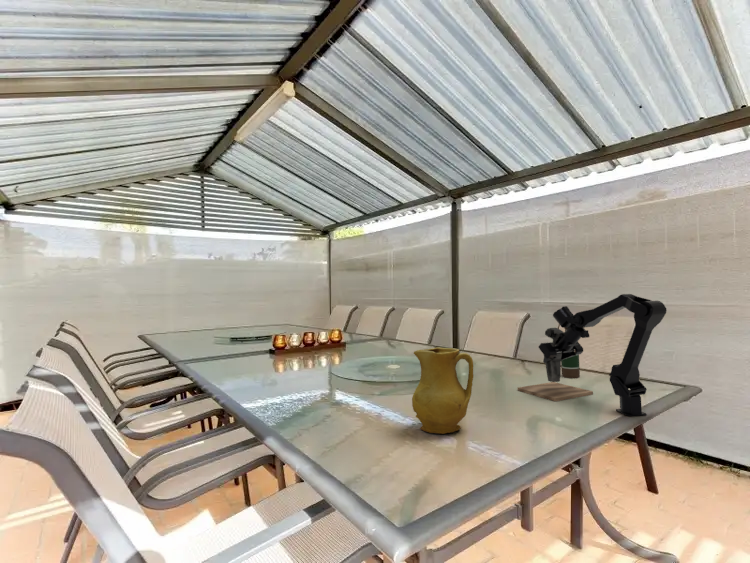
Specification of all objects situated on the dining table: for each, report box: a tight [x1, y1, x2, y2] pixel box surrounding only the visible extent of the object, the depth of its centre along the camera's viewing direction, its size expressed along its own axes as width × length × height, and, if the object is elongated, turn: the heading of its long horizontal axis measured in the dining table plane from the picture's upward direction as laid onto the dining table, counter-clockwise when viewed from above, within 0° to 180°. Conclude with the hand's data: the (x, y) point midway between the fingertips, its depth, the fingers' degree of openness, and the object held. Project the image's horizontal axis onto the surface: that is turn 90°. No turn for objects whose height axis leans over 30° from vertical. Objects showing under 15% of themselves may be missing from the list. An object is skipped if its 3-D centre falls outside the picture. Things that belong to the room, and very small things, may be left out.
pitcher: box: [411, 346, 474, 435], centre depth 131 cm, size 17×19×25 cm
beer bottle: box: [561, 328, 581, 379], centre depth 197 cm, size 8×8×24 cm
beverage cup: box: [544, 341, 562, 383], centre depth 170 cm, size 7×7×20 cm
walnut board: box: [517, 381, 594, 402], centre depth 170 cm, size 20×20×1 cm
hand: (550, 361), depth 171 cm, fingers closed on beverage cup, 7 cm apart
